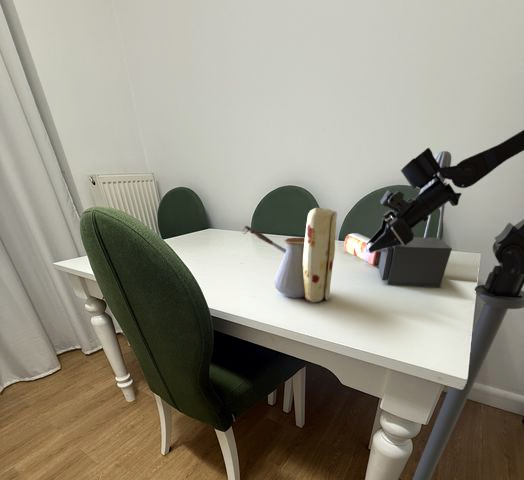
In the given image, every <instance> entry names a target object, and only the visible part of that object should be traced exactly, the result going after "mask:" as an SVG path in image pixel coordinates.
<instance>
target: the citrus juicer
mask: <svg viewBox="0 0 524 480" xmlns="http://www.w3.org/2000/svg"><path fill="white" fill-rule="evenodd" d="M434 158H435V159H436V161H437V162H438V164H439V165H440V167H441V168H443V167H444V166H447V167H450V166H452V154H451V152H449V151H447V150H443V151H439V152H437V153H436V154H435V156H434ZM435 175H436V174H435ZM435 175H434V176H435ZM437 175H438V177H439V178H440V180H441V181H442V182H443V183H444V185H445V186H446V185H447V184H448V183H447V181H446V179H445V178H442V176H441V175H440V173H439V172H438V173H437ZM434 182H435V180H434V179H433V180H432V181H431V182H429V183H428V184H427V185H426V186H424V187H423V188H422V189H421V190H420V191H419V194H420V193H421V192H423V191H424V190H425V189H427V188H428V187H429V186H430V185H432V184H433V183H434ZM419 194H418V195H419ZM445 206H446V204H444V205H443V206H442V207H440V214H439V222H438V229H437V234H436V238H439V239H441V233H442V229H443V222H444V215H445V208H446V207H445ZM432 215H433V213H432V214H431V215H429V216H428V220H427V221H426V222H427V223H426V227H425V232H424V236H423V238H428V234H429V229H430V225H431V220H432Z"/></svg>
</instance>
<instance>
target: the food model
mask: <svg viewBox="0 0 524 480" xmlns="http://www.w3.org/2000/svg"><path fill="white" fill-rule="evenodd" d="M337 217H338V213H337V211H335V210H332V209H330V208H328V207H314V208H313V209H311V210H310V211H309V212H308V214H307V220H306V227H305V236H304V238H305V242H304V252H303V279H304V291H305V294H304V296H305V297H304V299H305V301H306V302H309V303H317V302H321V301H322V300H323V299H324V298H325V301H326V300H328V299H329V296H330V292H331V291H330V290H331V281H332V273H333V266H334V260H335V252H336V233H337Z"/></svg>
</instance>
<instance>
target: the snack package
mask: <svg viewBox="0 0 524 480" xmlns="http://www.w3.org/2000/svg"><path fill="white" fill-rule="evenodd" d="M370 239H371V238H370V237H366V236H365V235H363V234H361V233H358V232H357V233H356V232H352V233H349V234H347V235H346V237H345V239H344V244H343V250H344V252H346V253H348V254H350V255H352V256H354V257H357V258H358V259H360V260H362V261H364V262H366V263H368V264H369V265H371V266H373V267H379V262H380V257H381V252H382V251H375V252H374V253H369V250H368V246H367V243H368V242H369V240H370Z"/></svg>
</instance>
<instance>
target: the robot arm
mask: <svg viewBox="0 0 524 480" xmlns="http://www.w3.org/2000/svg"><path fill="white" fill-rule="evenodd" d="M522 152H524V129H522V130H521V131H519V132H517V133H515V134H514V135H512V136H510V137H509V138H507V139H505V140H504V141H502V142H500V143H499V144H496V145H495V146H493V147H490V148H488V149H485V150H482V151H481V152H478V153H476V154H474V155H471V156H469V157H467V158H465V159H462V160H460V162H458V163H457V164H456V165H450V167H447V166H444V167H443V168H441V167H440V165H439V164H438V162H437V161H436V159H435V158H434V157H435V156H434V153H433V151H432V150H431V148H430V147H427V148H426V149H424V150H423V151H422V152H421V153H420V154H419V155H417V156H415V158H414V157H413V158H412V159H411V160H410V161H409V162H408V163H407V164H405V165H404V167H403V168H402V169H400V172H401V174H402V175H403V177H404V178H405V180H406V181H407V182H408V184H409V185H410V186H411V188H412V190H415V189H416V188H417V189H419V190H420V191H421V189H422V188H423V187H424V186H426V185H427V184H429V182H431V181H432V180H433V179H434V180H435V182H434V183H433V184H432V185H430V186H429V187H428V188H427V189H425V190H424V191H423V192H421V193H420V192H419V193H420V194H418V195H416V196H415V197H409V198H408V199H407V200H405V199H404V196H405V194H404V193H403V192H401V191H399V190H396V191H395V192H394V193H393V192H392V191H390V190H388V189H387V190H386V192H385V193H384V194H383V196H382V198H381V199H380V201H379V203H380V205H382V206H384V207H388V208H389V209H388V210H387V211H386V212H385V213H383V214H382V215H383V216H384V217H382V219H381V225H380V227H379V228H378V229H377V231H376V232H375V233H374V234H373V235H372V237H371V238H369V239H370V240H369V242H368V243H370V242H371V243H373V244H372V245H371V246H370V247H369V248H368V250H369V251H370V252H373V251H376V250H380V249H383V248H387V247H391V246H395V245H401V242H400V241H401V240H402V242H403V243H404V244H405V245H407V244H408V243H409V242H411V241H412V240H413V237H415V233H414V232H413V229H414V227H416V226H417V225H418V224H421V222H427V221H428V218H429V215H431V214H432V215H433V214H434V213H435V212H437V210H439V209H441V207H442V206H443V205H444V204H445V205H446V204H447V203H448V202H449V203H450V205H451V207H456V206H458V205H459V201H460V198H461V196H462V193H461V192H456V191H455V190H454V188H453V187H452V186H451V184H450V183H447V184H446V186H445V185H444V183H445V182H444V183H443V182H442V181H441V180H440V178H439V177H438V175H437V173H438V172H439V173H440V175H441V176H442V178H445V180H451V182H452V184H453V185H454V186H455V187H456V188H460V189H467V188H470V187H473V185H475V184H476V183H478V182H479V181H481V180H482V179H483V178H485V177H486V176H487V175H489V174H490V173H491V172H493V171H494V170H495V169H497V168H498V167H499V166H500V165H502V164H503V163H504V162H506V161H508V160H510V159H512V158H513V157H515V156H516V155H518V154H520V153H522ZM435 174H436V175H435ZM434 175H435V176H434ZM494 240H495V241H494V243H493V245H492V253H493V255H494V257H495V260H496V261H497V262H498V264H499V265H494V267H493V268H492V271H490V272H489V273H488V276H487V278H486V280H485V283H484V285H485V286H483V288H484V289H485V290H486V291H487V292H488V293H489V294H491V295H492V296H503V297H520V298H522V297H523V295H522V294H520V291H521V290H522V289H523V287H524V218H523V219H522V220H521V221H519V222H518V223H516V224H515V225H514V224H513V223H511V222H508V223H507V224H506V225H505V227H504V229H503V230H502V231H501V233H499V234H498V235H496V236H495V237H494ZM368 243H367V245H368Z"/></svg>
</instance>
